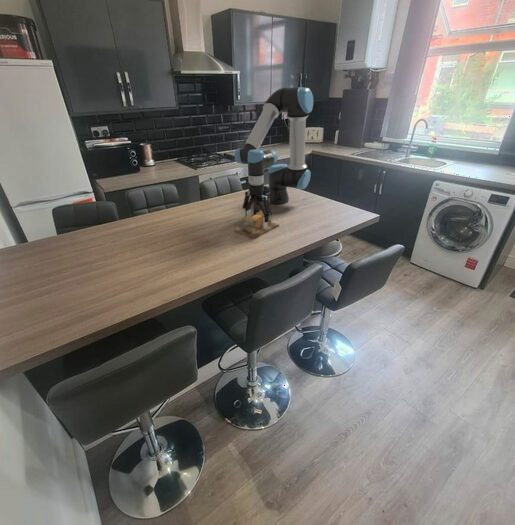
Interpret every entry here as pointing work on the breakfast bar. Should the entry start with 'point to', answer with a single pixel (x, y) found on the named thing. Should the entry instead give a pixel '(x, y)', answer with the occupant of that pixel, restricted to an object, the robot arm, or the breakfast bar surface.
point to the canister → (256, 205)
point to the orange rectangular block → (259, 218)
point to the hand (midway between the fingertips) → (257, 224)
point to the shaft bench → (258, 233)
